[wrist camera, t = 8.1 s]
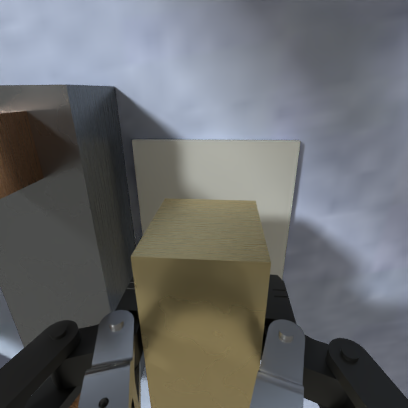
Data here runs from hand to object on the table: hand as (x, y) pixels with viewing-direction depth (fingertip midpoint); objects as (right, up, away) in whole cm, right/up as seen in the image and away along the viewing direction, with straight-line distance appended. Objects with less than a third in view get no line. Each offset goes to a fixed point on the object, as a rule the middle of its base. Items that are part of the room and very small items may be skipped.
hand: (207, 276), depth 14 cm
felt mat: (0, +2, +5) cm, 5 cm away
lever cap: (0, 0, +1) cm, 1 cm away
